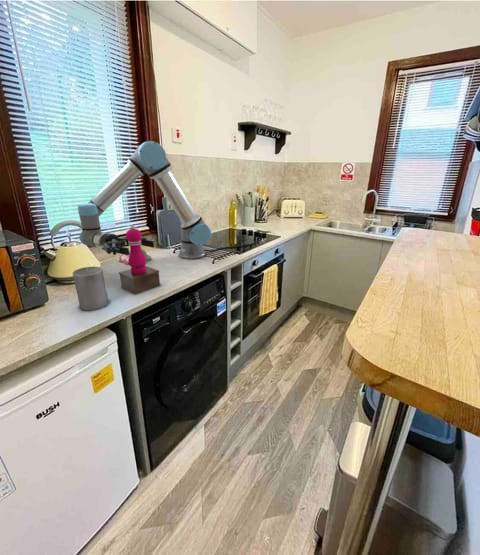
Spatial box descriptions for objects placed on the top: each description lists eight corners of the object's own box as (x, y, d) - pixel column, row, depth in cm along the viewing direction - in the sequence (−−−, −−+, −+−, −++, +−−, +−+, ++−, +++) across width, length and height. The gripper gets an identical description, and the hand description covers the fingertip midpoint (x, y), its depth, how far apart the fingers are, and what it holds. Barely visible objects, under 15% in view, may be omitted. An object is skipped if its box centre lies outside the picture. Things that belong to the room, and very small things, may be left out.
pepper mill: (126, 273, 115) (118, 226, 108) (137, 267, 122) (131, 223, 114) (140, 275, 113) (133, 227, 106) (151, 269, 119) (145, 224, 112)
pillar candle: (87, 299, 108) (79, 263, 102) (112, 298, 108) (106, 262, 103) (75, 311, 99) (65, 272, 93) (102, 310, 99) (95, 271, 94)
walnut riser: (146, 279, 128) (144, 265, 125) (160, 285, 121) (159, 270, 119) (121, 287, 119) (118, 272, 116) (135, 294, 112) (133, 278, 110)
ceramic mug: (135, 263, 148) (134, 250, 145) (129, 260, 154) (127, 247, 151) (153, 260, 155) (152, 247, 152) (147, 256, 161) (146, 244, 158)
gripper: (130, 243, 133) (163, 249, 123) (82, 256, 113) (117, 265, 103) (128, 228, 130) (162, 233, 120) (78, 238, 110) (114, 245, 100)
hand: (141, 247), depth 112 cm, fingers open, 12 cm apart
